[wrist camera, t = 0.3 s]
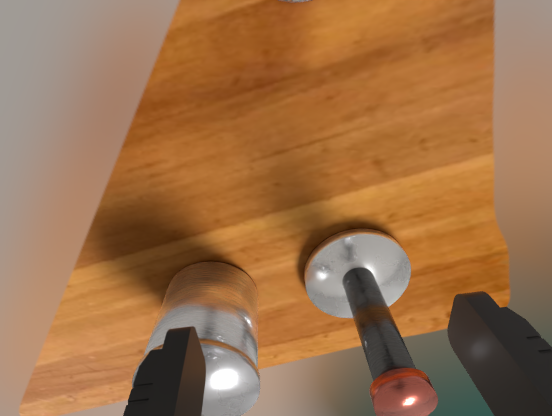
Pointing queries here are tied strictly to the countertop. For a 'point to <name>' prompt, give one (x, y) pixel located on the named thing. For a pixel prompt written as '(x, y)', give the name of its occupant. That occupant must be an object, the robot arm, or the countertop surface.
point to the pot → (216, 332)
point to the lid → (371, 312)
